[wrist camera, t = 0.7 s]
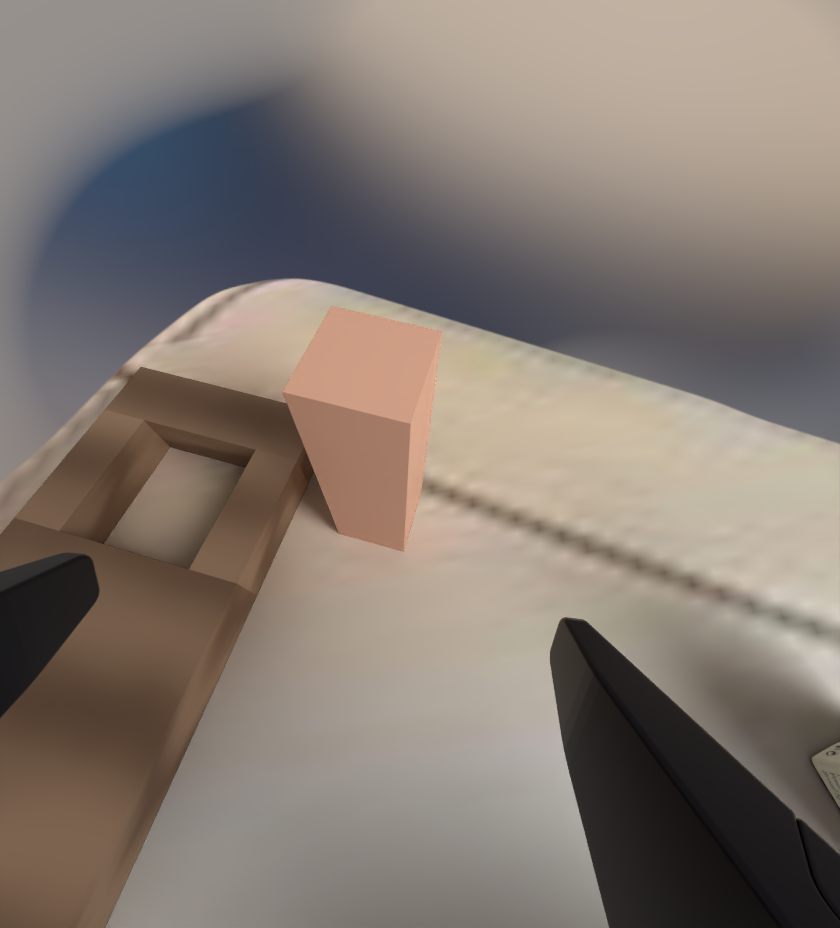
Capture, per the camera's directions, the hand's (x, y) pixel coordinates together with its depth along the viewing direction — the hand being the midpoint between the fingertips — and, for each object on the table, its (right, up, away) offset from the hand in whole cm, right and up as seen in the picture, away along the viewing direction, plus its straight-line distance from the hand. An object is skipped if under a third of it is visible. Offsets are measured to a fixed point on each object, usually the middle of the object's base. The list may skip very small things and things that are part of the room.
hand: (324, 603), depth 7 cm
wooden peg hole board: (-13, -4, +13) cm, 19 cm away
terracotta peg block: (-1, 0, +16) cm, 16 cm away
